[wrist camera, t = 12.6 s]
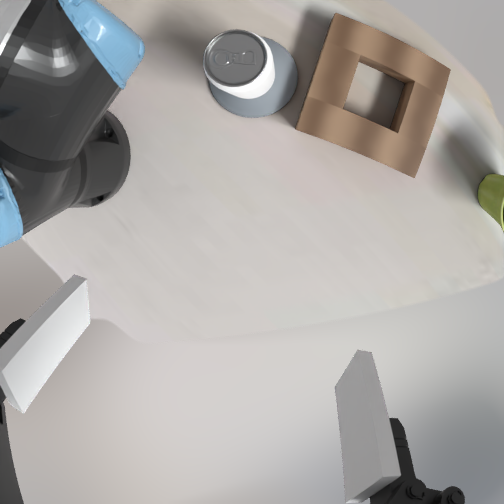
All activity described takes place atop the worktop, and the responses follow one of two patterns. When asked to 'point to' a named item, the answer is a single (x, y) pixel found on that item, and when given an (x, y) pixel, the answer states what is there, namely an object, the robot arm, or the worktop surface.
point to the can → (239, 64)
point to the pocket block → (356, 127)
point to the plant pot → (493, 197)
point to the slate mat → (273, 97)
